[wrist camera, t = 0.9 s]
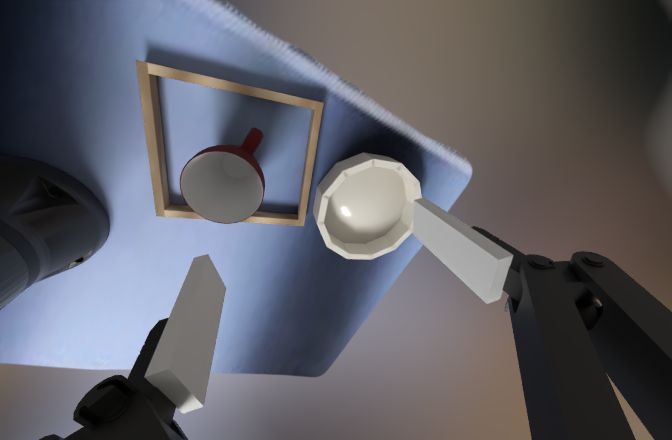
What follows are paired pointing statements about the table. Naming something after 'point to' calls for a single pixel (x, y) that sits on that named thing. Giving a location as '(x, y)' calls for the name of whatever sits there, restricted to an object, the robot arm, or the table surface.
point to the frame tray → (151, 96)
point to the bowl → (366, 206)
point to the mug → (225, 181)
